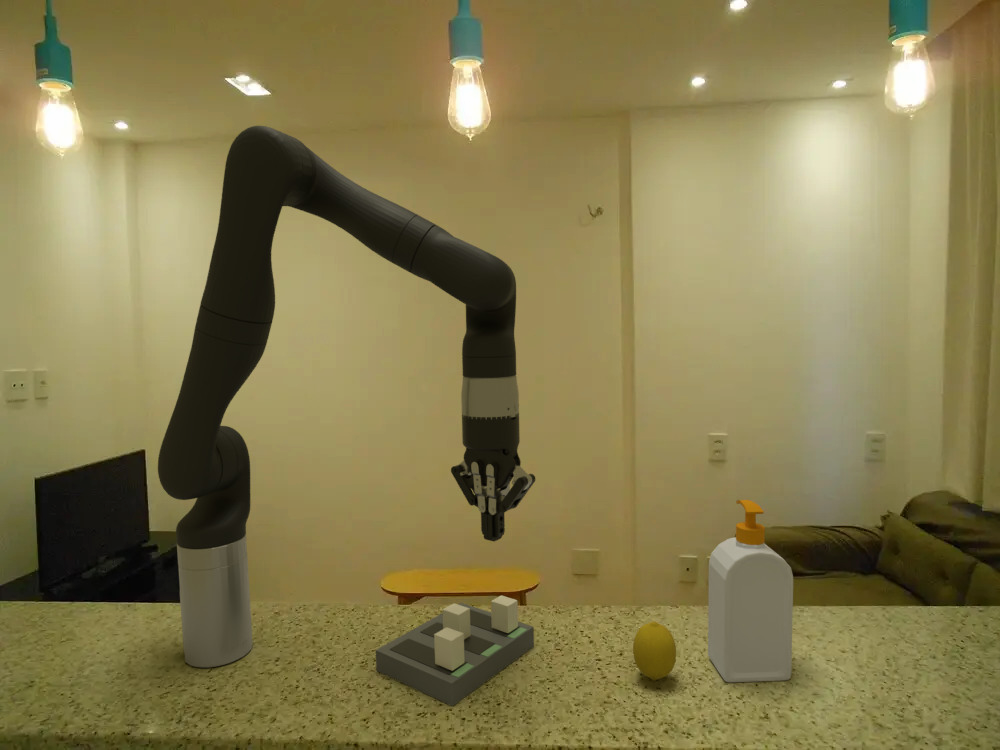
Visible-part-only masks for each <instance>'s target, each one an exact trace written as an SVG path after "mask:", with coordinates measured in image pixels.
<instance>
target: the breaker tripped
mask: <svg viewBox="0 0 1000 750" xmlns="http://www.w3.org/2000/svg"><path fill="white" fill-rule="evenodd" d="M458 604H459V603H458ZM458 604H457V603H455V602H454V603H452V604H450V605H448V606H446V607H444V608H442V613H443V629H444V628H446V627H447V628H450V629H453V630H456V631H458V632H461V633H464V639H466V638H468V637H469V636H471V634H470V608H467V607H464V606H461V605H458Z"/></svg>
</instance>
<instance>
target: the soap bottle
mask: <svg viewBox="0 0 1000 750" xmlns="http://www.w3.org/2000/svg"><path fill="white" fill-rule="evenodd" d="M738 504H739V505H741V506H742V507H743V510H744V512H745V514H744V521H742V522H741V521H740V522H738V523H737V524H735V537H729V538H727V539H726V540H724V541H722V542H720V543H718V545H717V546H716V547H715V548H714V549H713V551H712V552H711V553H710V557H709V561H708V602H707V603H708V604H707V605H708V607H707V608H708V614H707V615H708V617H707V618H708V619H707V621H708V622H707V623H708V624H707V631H708V632H707V655H708V658H709V659H710V661H711V662H712V665H714V667H715V669H716V670H717V672H718V673H719V675H720V676H721V678H722V679H723V681H724V682H726V683H746V682H747V683H750V682H751V683H752V682H753V683H754V682H778V681H788V680H790V679H791V677H792V662H793V661H792V660H793V659H792V658H793V654H792V653H793V652H792V651H793V615H794V614H793V613H794V612H793V611H794V610H793V609H794V575H793V571H792V567H791V566H790V565H789V564H788V563H787V561H786V560H785V559H784V558H783V557H781V555H780V554H778V553H777V552H776V551H775V550H773V549H772V548H771V547H769V546H768V545H767V544H766V543H765V539H766V538H765V537H766V536H765V534H766V530H765V529H766V528H765V526H764V525H763V524H760V523H757V522H756V520H757V515H764V514H765V513H764V512H765V511H764V510H763V508H761V506H760V505H759V504H758V503H756V502H754V501H752V500H749V499H738V500H736V505H738Z"/></svg>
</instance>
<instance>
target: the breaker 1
mask: <svg viewBox="0 0 1000 750" xmlns="http://www.w3.org/2000/svg"><path fill="white" fill-rule="evenodd" d="M434 643H435V664H437V665H440V666H442V667H444V668H447V669H449V670H451V671H453V670H454V669H456V668H457V667H459V666H460V665H462V664H463V663H464V633H461V632H458V631H456V630H453V629H450V628H447V627H446V628H444V629H443V630H441V631H439V632H437V633H436V634H434Z"/></svg>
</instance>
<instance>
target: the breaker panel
mask: <svg viewBox="0 0 1000 750" xmlns="http://www.w3.org/2000/svg"><path fill="white" fill-rule="evenodd" d="M458 605H461V606H464V607H467V608H470V634H471V636H469V637H468V638H466V639H464V663H463V664H462V665H460V666H459V667H457V668H456V669H454V670H453V671H451V670H449V669H447V668H444V667H442V666H440V665H437V664H435V643H434V634H436V633H437V632H439V631H441V630H443V612H442V613H440V614H438V615H437V616H435V617H432V618H431V619H429V620H428V621H425V622H424V623H421V624H420V625H419V626H417V627H415V628H413V629H412V630H409V631H407V632H406V633H404V634H402V635H401V636H398V637H397V638H395V639H392V640H391V641H390V642H388V643H386V644H384V645H381V647H378V648H377V649H375V667H376V671H377V672H378V673H380V672H381V673H380V674H382V675H384V676H386V675H387V676H386V677H389V678H391V679H393V678H394V679H393V680H395V679H396V680H395V681H397V680H398V681H397V682H399V681H400V682H399V683H401V684H404V685H405V686H407V687H410V688H413V689H414V690H417V691H418V692H421V693H423V694H425V695H427V696H430V697H432V698H434V699H436V700H439V701H440V702H443V703H444V704H446V705H449V706H451V707H453V706H455V705H456V704H457V703H460V702H461V700H463V699H464V698H465V697H467V696H468V695H470V694H472V692H474V691H476V690H477V689H478V688H479V687H480V686H482V685H483V684H484V683H486V682H488V681H489V680H490V679H492V678H493V677H494V676H495V675H497V674H498V673H500V672H501V671H502V670H503V669H505V668H506V667H508V666H509V665H511V664H512V663H513V662H515V661H516V660H517V659H519V658H521V656H523V655H524V654H525V653H527V652H528V651H530V650H531V649H532V648H534V647H535V638H534V637H535V635H534V631H535V630H534V629H535V628H534V626H532V625H529V624H527V623H523V622H520V621H518V627H517V628H515V629H514V630H512V631H511V632H510V633H506V632H503V631H500V630H497V629H494V628H492V619H491V612H490V611H488V610H485V609H481V608H478V607H476V606H473V605H469V604H467V603H464V602H460V603H458Z"/></svg>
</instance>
